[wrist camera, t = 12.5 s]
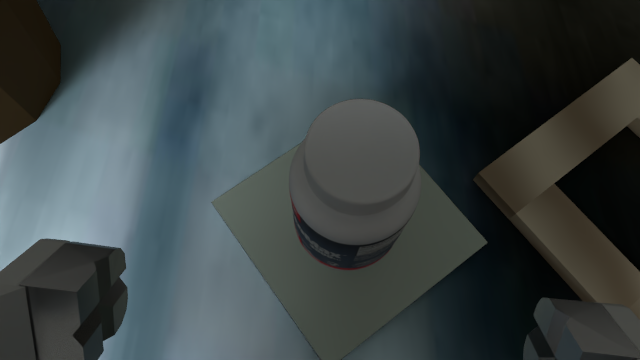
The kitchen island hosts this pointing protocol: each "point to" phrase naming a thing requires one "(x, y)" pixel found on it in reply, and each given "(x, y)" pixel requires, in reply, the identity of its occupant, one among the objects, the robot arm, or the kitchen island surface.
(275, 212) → the tile
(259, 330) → the kitchen island surface
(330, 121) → the pill bottle
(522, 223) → the slot block
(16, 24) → the flowerpot
